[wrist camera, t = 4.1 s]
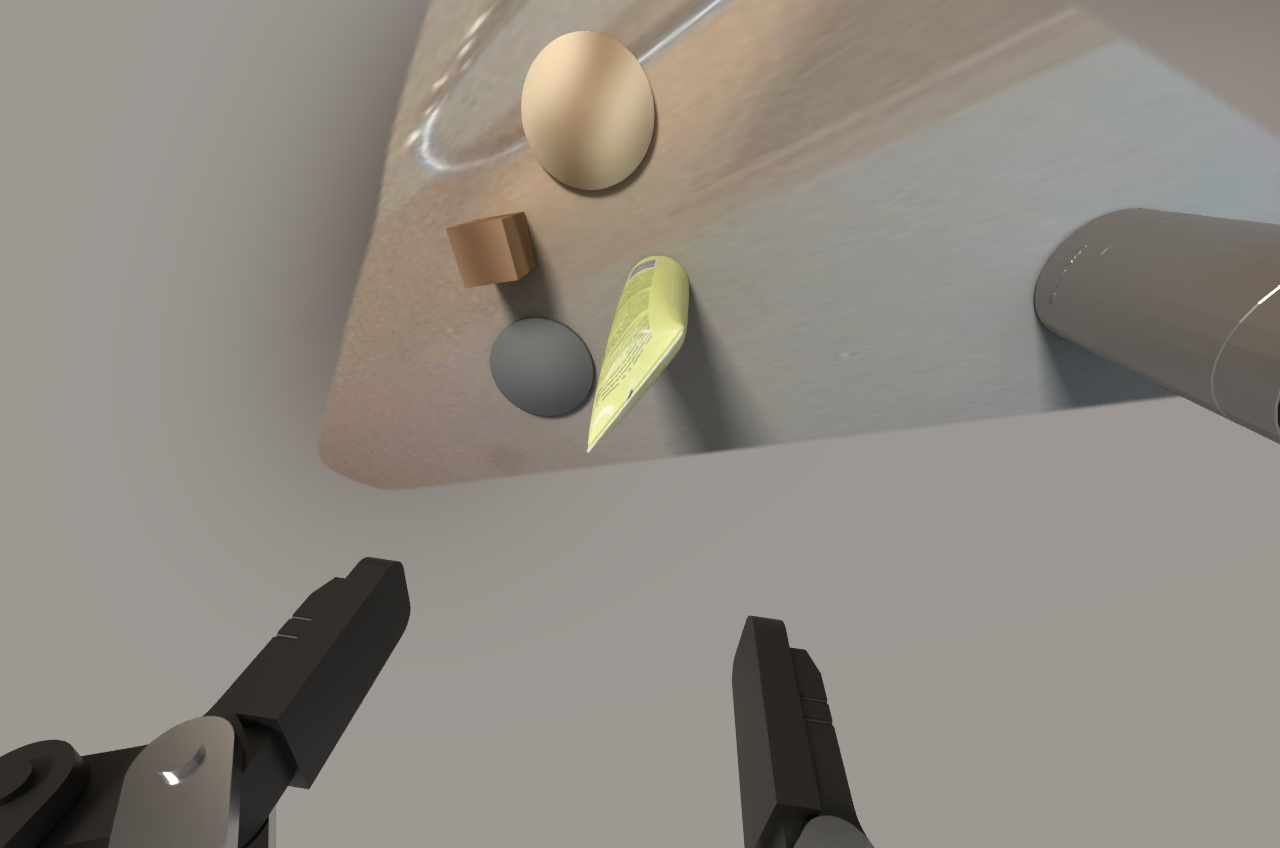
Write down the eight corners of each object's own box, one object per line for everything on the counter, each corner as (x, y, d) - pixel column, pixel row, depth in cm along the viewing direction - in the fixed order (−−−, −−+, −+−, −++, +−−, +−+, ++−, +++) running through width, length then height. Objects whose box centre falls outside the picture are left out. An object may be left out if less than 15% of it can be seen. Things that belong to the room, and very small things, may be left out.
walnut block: (524, 211, 37) (501, 219, 32) (537, 265, 38) (517, 280, 34) (474, 220, 37) (445, 228, 33) (490, 273, 39) (465, 288, 35)
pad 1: (662, 41, 31) (662, 39, 30) (646, 196, 35) (646, 197, 35) (523, 25, 31) (520, 23, 31) (524, 181, 35) (522, 181, 35)
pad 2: (597, 324, 40) (595, 326, 40) (590, 419, 45) (589, 422, 44) (490, 310, 40) (487, 312, 40) (494, 405, 45) (492, 408, 44)
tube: (692, 323, 39) (692, 450, 22) (630, 328, 40) (585, 455, 23) (687, 250, 37) (684, 332, 20) (621, 256, 37) (563, 341, 20)
